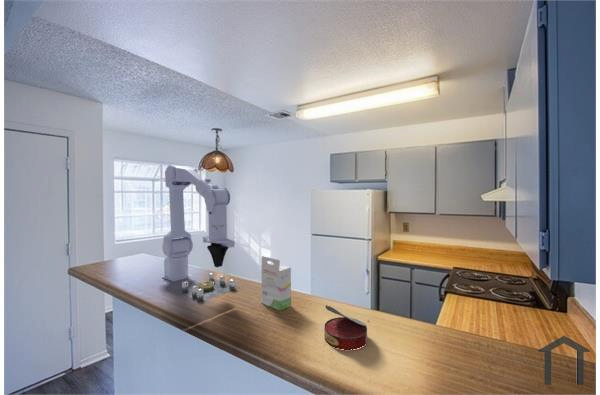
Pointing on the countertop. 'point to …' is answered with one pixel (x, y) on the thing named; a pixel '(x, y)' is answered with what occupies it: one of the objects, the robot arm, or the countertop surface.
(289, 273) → the ink box
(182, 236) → the robot arm
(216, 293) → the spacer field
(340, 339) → the canned food
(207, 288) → the brass nut
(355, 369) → the countertop surface
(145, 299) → the countertop surface
